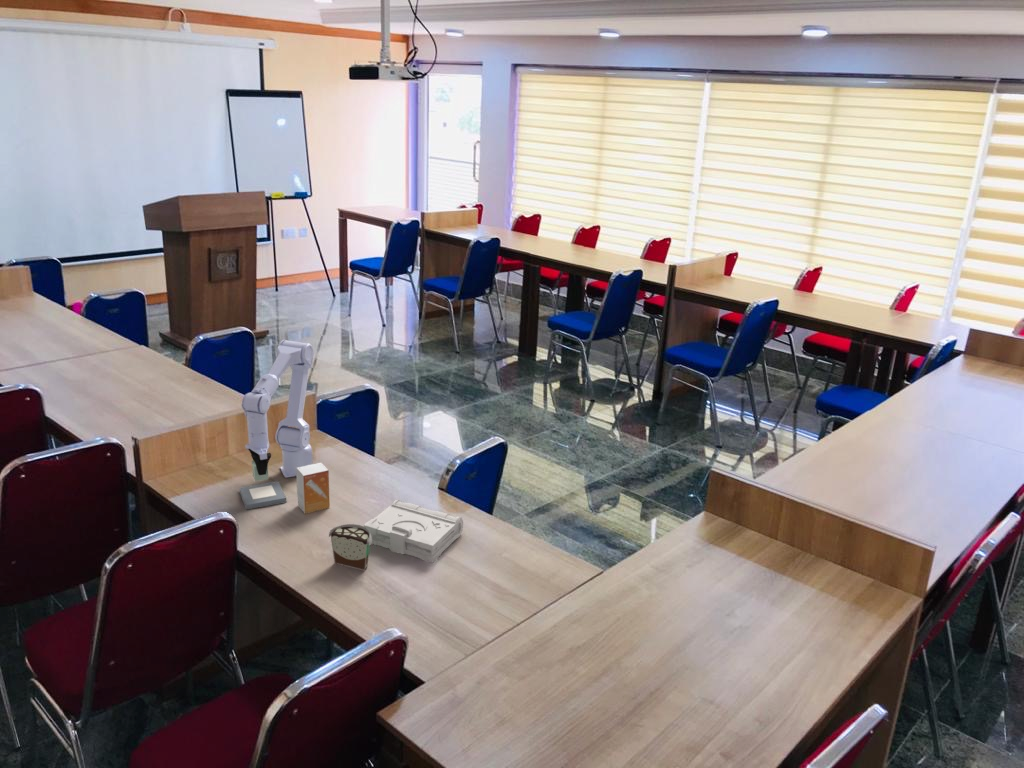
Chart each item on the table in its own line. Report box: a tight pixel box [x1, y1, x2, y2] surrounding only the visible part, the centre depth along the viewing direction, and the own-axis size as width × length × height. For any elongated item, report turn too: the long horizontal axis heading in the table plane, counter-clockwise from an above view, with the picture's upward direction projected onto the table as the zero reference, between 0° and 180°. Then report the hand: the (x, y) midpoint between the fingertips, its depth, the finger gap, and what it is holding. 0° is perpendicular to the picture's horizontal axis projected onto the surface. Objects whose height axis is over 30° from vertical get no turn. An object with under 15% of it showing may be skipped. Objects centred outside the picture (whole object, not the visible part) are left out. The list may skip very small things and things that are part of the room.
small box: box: [295, 462, 331, 514], centre depth 255 cm, size 8×6×13 cm
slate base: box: [238, 480, 288, 510], centre depth 261 cm, size 12×12×2 cm
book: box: [363, 499, 464, 564], centre depth 242 cm, size 19×28×8 cm
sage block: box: [251, 460, 270, 482], centre depth 258 cm, size 4×4×5 cm
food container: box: [328, 523, 372, 571], centre depth 228 cm, size 12×6×10 cm, turn 71°
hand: (260, 471), depth 258 cm, fingers closed on sage block, 4 cm apart
